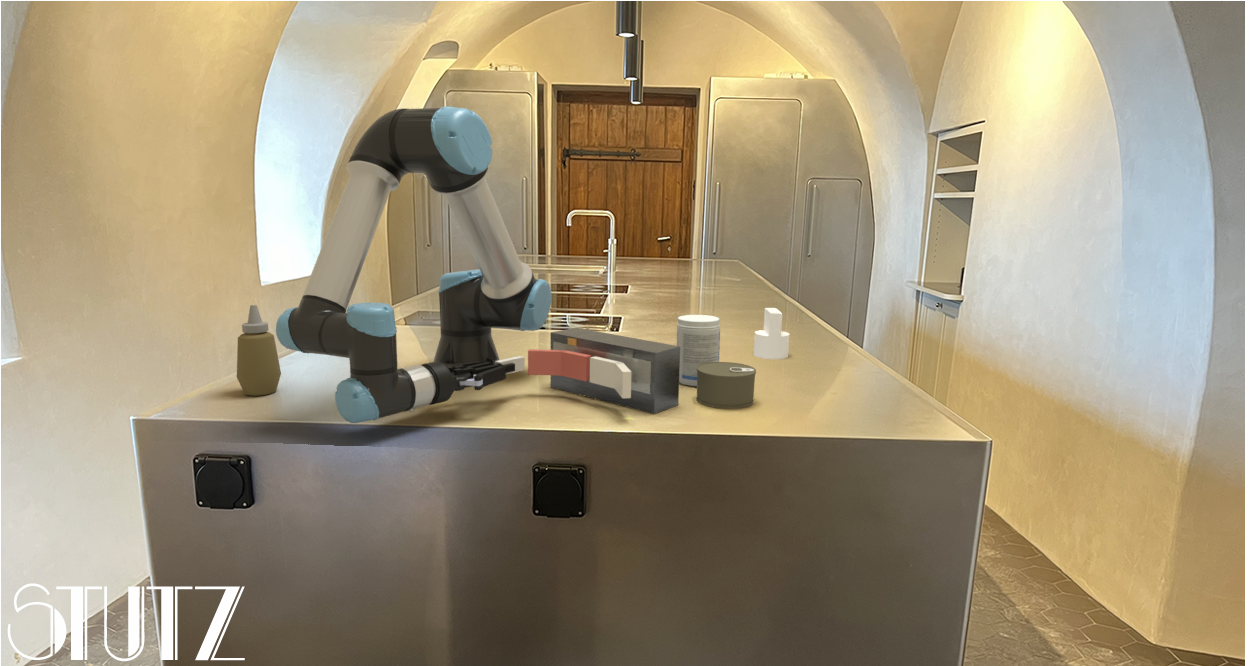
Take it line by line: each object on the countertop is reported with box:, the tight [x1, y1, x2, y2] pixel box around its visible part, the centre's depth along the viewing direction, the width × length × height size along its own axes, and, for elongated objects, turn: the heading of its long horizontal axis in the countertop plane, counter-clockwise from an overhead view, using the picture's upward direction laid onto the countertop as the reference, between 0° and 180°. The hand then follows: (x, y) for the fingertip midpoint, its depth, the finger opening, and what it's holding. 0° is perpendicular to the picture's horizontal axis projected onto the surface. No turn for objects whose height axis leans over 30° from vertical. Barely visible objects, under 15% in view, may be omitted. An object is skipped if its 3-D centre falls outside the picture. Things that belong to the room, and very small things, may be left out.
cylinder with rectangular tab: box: [753, 307, 791, 360], centre depth 190 cm, size 9×9×12 cm
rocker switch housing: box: [550, 327, 680, 415], centre depth 149 cm, size 8×28×12 cm, turn 51°
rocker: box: [527, 348, 591, 381], centre depth 147 cm, size 4×14×5 cm, turn 71°
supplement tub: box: [676, 314, 721, 388], centre depth 161 cm, size 10×10×15 cm
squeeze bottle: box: [236, 304, 282, 397], centre depth 146 cm, size 8×8×18 cm
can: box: [696, 361, 757, 410], centre depth 148 cm, size 12×12×7 cm
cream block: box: [590, 356, 631, 398], centre depth 138 cm, size 4×14×5 cm, turn 31°
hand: (521, 363), depth 147 cm, fingers closed
